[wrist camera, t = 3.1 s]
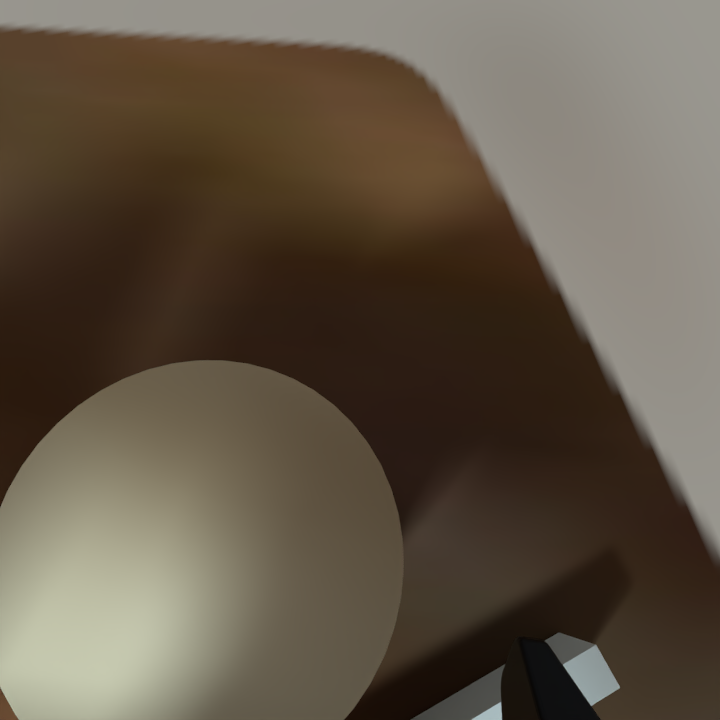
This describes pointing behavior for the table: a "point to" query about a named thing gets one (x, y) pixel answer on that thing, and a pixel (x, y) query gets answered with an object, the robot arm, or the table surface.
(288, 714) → the birch cylinder
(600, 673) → the acrylic wall
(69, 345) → the table surface
